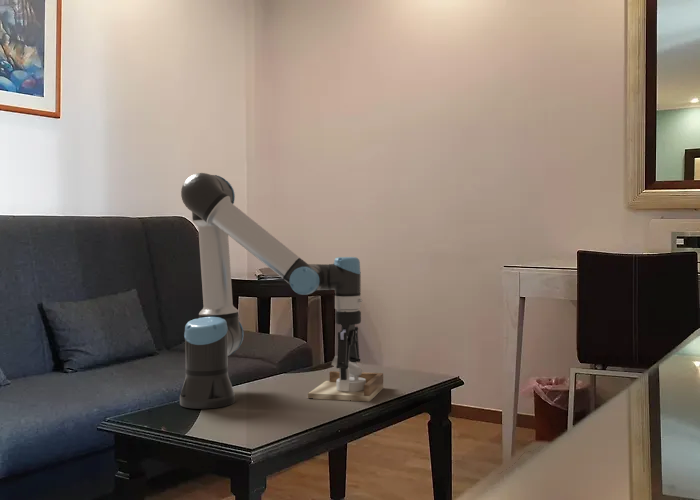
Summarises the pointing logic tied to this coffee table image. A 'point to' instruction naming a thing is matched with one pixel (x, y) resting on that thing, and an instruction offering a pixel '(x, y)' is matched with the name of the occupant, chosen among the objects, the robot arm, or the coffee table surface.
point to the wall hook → (354, 382)
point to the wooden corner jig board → (331, 393)
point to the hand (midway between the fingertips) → (348, 387)
